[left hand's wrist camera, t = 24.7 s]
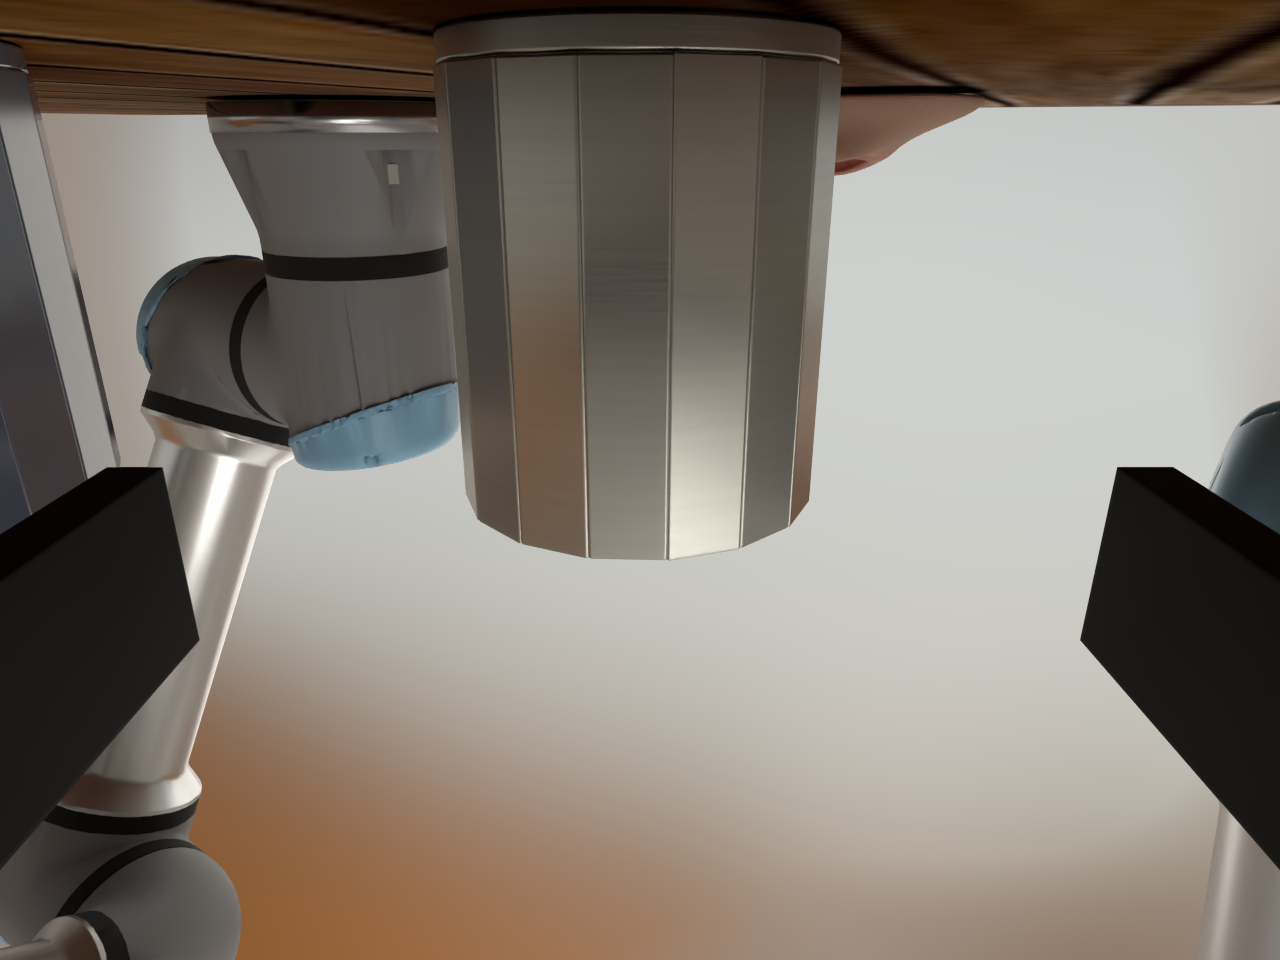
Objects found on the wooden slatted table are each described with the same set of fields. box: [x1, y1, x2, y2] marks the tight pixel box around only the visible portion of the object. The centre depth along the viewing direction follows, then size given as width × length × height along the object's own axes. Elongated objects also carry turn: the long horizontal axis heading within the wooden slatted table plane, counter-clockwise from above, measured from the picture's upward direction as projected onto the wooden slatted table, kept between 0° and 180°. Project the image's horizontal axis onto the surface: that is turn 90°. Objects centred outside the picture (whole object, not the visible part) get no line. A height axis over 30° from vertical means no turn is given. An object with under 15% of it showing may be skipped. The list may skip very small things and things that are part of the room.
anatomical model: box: [834, 93, 985, 176], centre depth 45 cm, size 13×4×12 cm
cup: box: [433, 10, 842, 560], centre depth 20 cm, size 8×8×10 cm
